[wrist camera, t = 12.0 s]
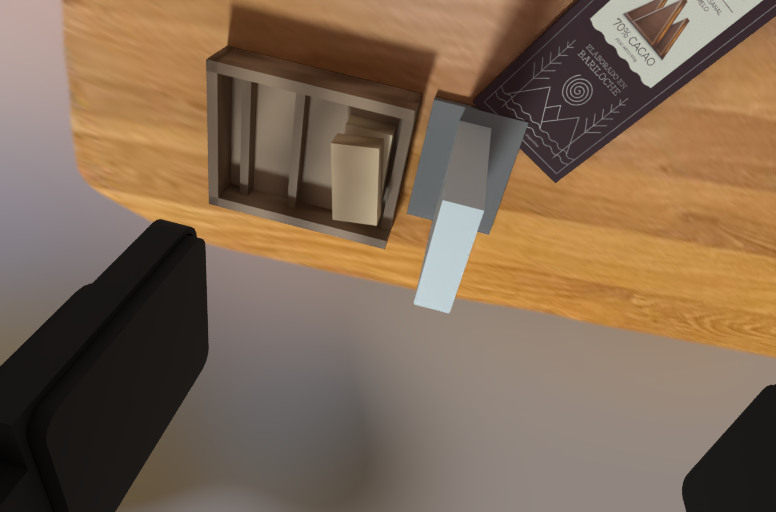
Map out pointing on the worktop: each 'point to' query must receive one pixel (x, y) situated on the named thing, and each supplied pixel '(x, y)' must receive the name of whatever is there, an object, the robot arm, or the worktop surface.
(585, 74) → the chocolate bar
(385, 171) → the offcut low
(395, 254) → the worktop surface
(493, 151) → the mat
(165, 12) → the worktop surface
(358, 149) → the offcut top
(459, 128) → the board
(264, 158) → the rack
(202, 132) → the worktop surface
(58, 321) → the robot arm
